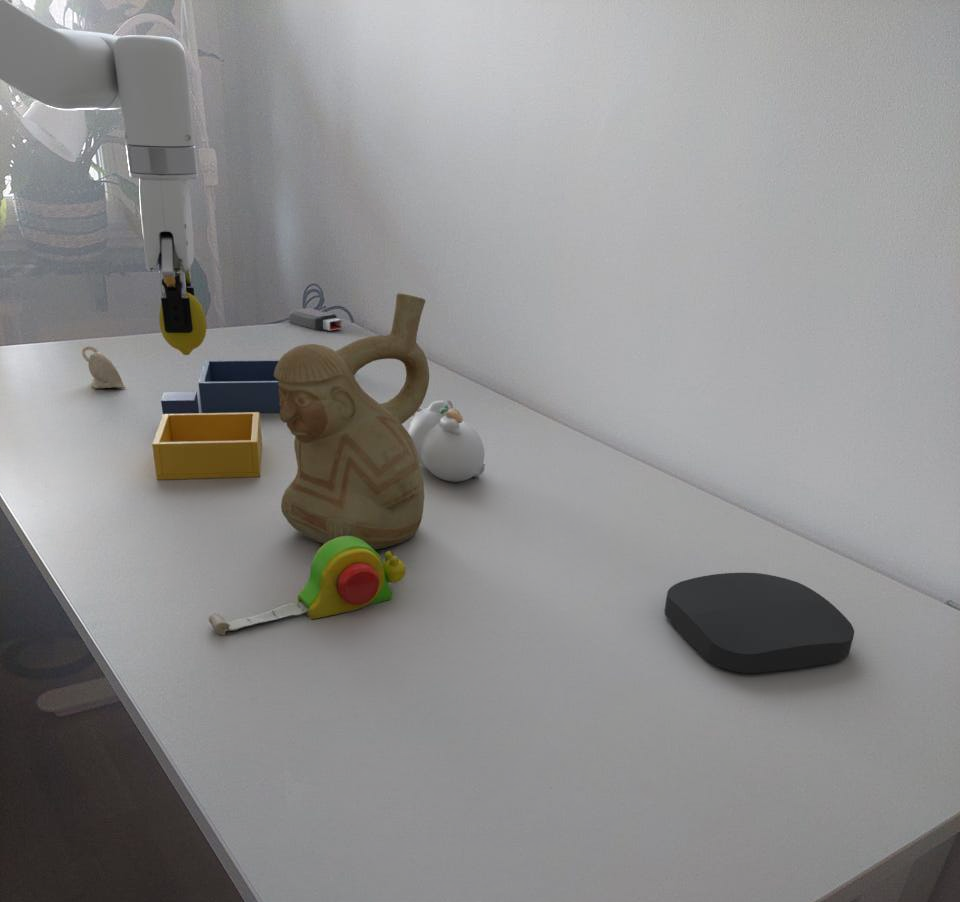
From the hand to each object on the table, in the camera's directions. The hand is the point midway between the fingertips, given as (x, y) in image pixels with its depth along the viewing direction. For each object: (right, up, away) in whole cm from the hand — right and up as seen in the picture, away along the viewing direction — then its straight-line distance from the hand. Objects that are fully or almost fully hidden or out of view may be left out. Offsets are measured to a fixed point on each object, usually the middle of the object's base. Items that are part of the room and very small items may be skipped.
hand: (181, 324), depth 119 cm
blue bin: (+1, -1, +32) cm, 32 cm away
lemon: (0, -3, +2) cm, 4 cm away
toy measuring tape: (+21, -36, -26) cm, 49 cm away
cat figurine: (+32, -17, +8) cm, 37 cm away
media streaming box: (+63, -38, -27) cm, 78 cm away
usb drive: (+3, +26, +80) cm, 84 cm away
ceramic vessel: (+24, -27, -10) cm, 37 cm away
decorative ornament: (-24, +2, +37) cm, 44 cm away
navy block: (-6, -8, +20) cm, 22 cm away
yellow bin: (+2, -15, +8) cm, 17 cm away
